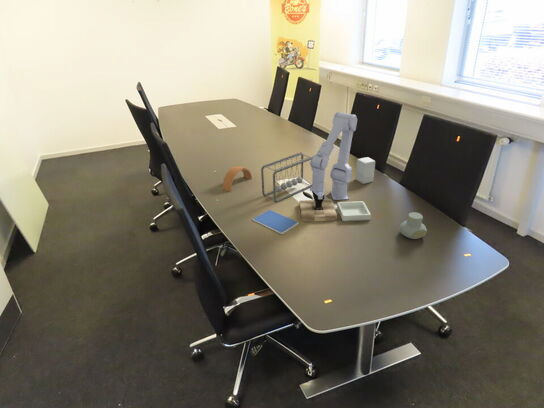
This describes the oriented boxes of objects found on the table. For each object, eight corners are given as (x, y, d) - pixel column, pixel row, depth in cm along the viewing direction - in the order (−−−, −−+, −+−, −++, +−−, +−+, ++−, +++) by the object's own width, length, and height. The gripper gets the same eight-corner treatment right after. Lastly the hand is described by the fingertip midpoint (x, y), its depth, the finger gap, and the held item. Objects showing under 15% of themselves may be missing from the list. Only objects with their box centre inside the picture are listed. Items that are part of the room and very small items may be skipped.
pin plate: (299, 204, 182) (299, 200, 180) (330, 203, 182) (330, 199, 181) (302, 221, 168) (303, 217, 166) (336, 219, 168) (337, 215, 167)
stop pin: (312, 209, 176) (312, 193, 172) (320, 209, 176) (321, 193, 172) (313, 213, 173) (314, 197, 168) (322, 213, 173) (323, 197, 168)
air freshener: (406, 242, 151) (410, 222, 146) (395, 232, 158) (398, 212, 153) (428, 237, 153) (433, 218, 148) (416, 227, 160) (420, 208, 155)
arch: (222, 189, 200) (220, 173, 195) (244, 176, 214) (243, 161, 209) (230, 192, 197) (228, 175, 192) (252, 178, 211) (251, 163, 206)
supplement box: (373, 181, 202) (376, 161, 196) (362, 184, 200) (364, 163, 194) (366, 176, 208) (368, 156, 202) (355, 179, 206) (357, 158, 200)
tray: (337, 207, 178) (337, 202, 177) (363, 206, 178) (363, 201, 177) (342, 221, 167) (343, 215, 165) (370, 220, 167) (370, 214, 165)
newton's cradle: (274, 203, 184) (273, 172, 175) (262, 196, 191) (260, 166, 182) (315, 185, 200) (316, 156, 192) (302, 180, 207) (302, 151, 199)
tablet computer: (251, 221, 171) (251, 218, 170) (269, 210, 178) (269, 208, 178) (281, 235, 159) (281, 233, 158) (299, 224, 167) (299, 222, 166)
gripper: (308, 174, 173) (307, 198, 179) (312, 187, 160) (311, 213, 167) (322, 173, 173) (321, 197, 179) (327, 186, 160) (326, 212, 167)
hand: (317, 205), depth 173 cm, fingers closed on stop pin, 4 cm apart
